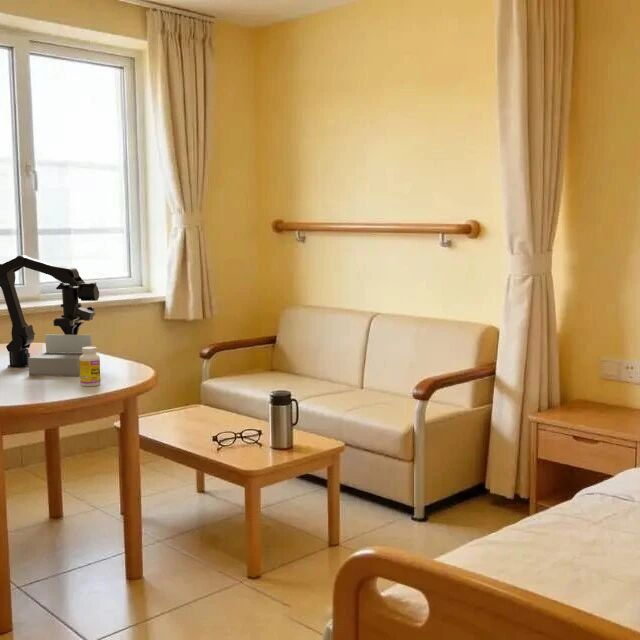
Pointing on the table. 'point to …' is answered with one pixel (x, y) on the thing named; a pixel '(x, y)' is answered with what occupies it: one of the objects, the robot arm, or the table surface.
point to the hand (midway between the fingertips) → (72, 342)
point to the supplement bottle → (89, 367)
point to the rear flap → (67, 343)
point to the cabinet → (55, 364)
